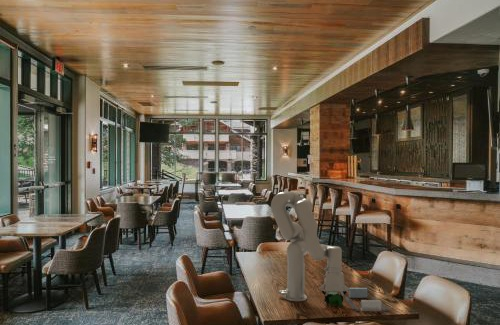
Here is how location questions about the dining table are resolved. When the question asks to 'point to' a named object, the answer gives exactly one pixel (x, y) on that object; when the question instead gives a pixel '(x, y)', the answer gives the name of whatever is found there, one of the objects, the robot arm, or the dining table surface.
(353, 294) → the block
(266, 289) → the dining table surface
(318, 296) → the dining table surface
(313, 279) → the dining table surface
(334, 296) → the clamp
